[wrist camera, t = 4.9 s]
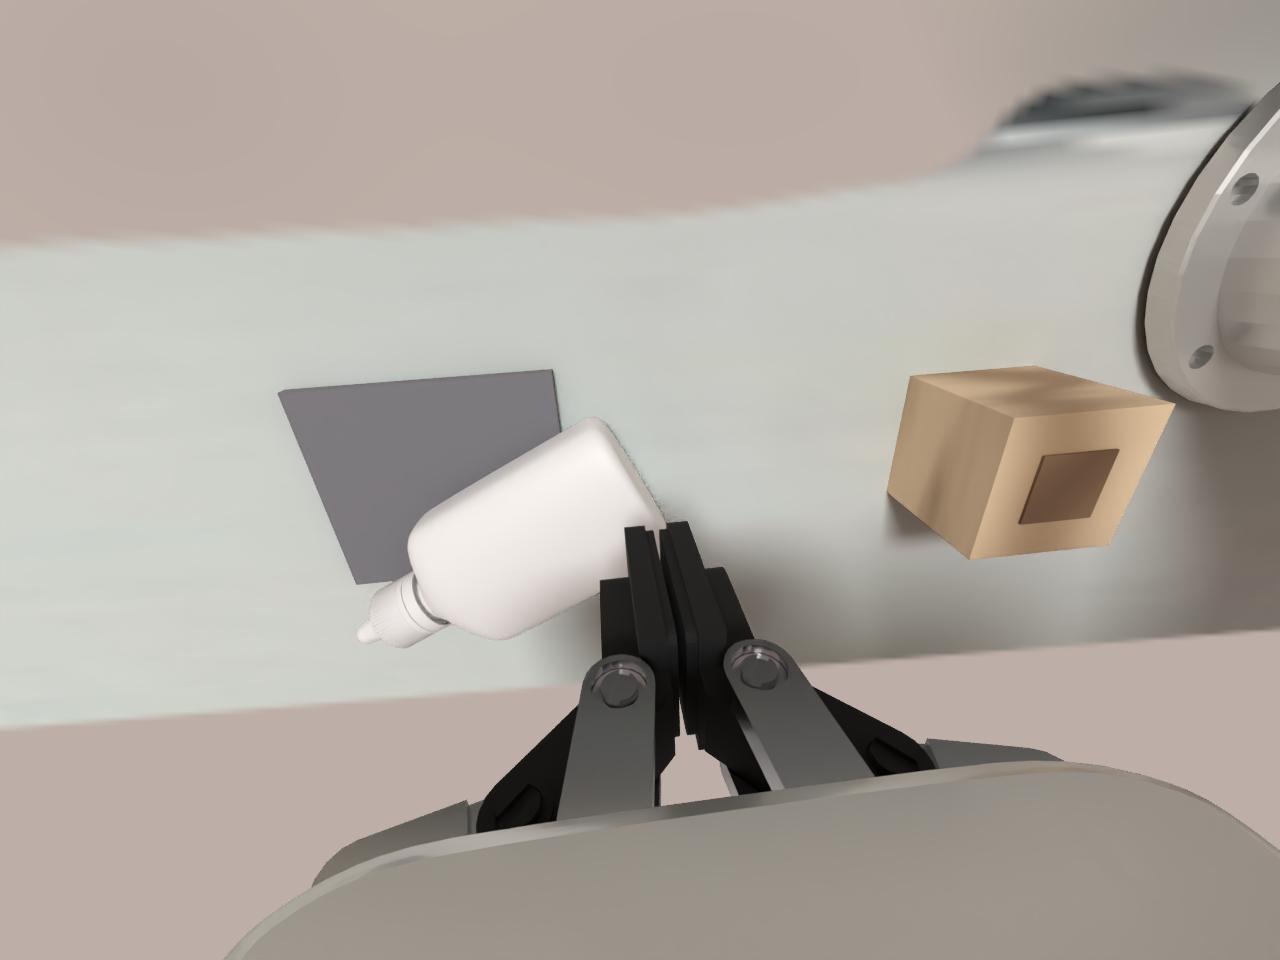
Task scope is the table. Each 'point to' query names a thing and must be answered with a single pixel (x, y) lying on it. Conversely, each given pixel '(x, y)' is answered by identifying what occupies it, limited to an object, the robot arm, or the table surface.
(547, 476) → the eye dropper bottle
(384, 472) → the mat
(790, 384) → the table surface
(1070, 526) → the oak cube
